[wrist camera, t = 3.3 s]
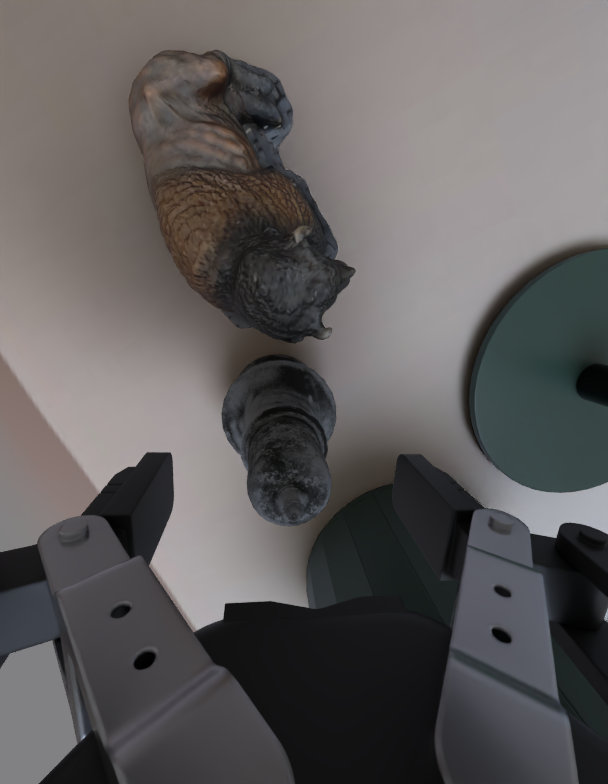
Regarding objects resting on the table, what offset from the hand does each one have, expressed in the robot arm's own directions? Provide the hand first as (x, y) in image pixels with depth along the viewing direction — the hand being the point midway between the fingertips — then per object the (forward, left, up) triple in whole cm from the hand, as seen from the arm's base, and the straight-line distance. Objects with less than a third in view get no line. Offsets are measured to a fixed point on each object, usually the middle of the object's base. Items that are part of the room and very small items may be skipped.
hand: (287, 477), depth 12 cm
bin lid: (-2, +20, -9) cm, 22 cm away
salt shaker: (0, 0, -10) cm, 10 cm away
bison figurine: (-10, -2, -10) cm, 14 cm away
